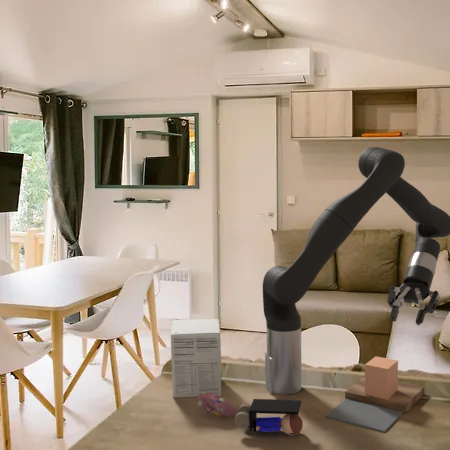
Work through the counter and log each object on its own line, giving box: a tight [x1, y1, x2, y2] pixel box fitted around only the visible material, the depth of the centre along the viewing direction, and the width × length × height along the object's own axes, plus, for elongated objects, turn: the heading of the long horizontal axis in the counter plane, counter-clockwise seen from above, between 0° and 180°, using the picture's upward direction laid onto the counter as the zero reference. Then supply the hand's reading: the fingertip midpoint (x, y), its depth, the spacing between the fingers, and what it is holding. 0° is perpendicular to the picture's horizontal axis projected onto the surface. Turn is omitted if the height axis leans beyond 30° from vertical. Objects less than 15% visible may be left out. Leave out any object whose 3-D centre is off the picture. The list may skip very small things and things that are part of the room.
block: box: [364, 356, 399, 400], centre depth 164 cm, size 7×6×8 cm
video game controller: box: [195, 391, 238, 418], centre depth 159 cm, size 10×5×7 cm
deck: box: [344, 376, 425, 414], centre depth 167 cm, size 14×16×2 cm
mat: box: [324, 398, 404, 433], centre depth 156 cm, size 12×15×1 cm
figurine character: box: [234, 398, 304, 437], centre depth 148 cm, size 7×8×15 cm
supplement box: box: [170, 318, 222, 398], centre depth 175 cm, size 13×13×18 cm
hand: (405, 321), depth 176 cm, fingers open, 6 cm apart
